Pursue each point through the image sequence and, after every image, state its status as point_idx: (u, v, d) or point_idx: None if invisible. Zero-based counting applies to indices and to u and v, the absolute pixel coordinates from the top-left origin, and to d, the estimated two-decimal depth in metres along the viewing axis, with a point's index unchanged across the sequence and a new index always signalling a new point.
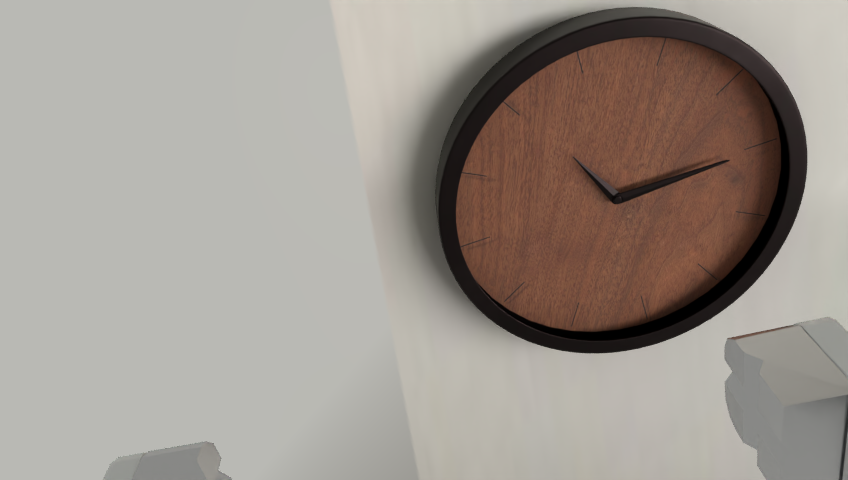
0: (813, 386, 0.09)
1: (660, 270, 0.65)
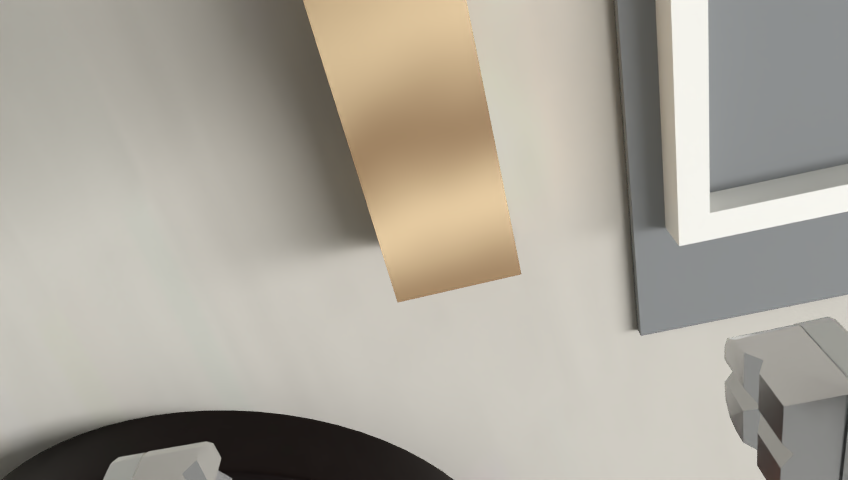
0: (813, 386, 0.09)
1: None
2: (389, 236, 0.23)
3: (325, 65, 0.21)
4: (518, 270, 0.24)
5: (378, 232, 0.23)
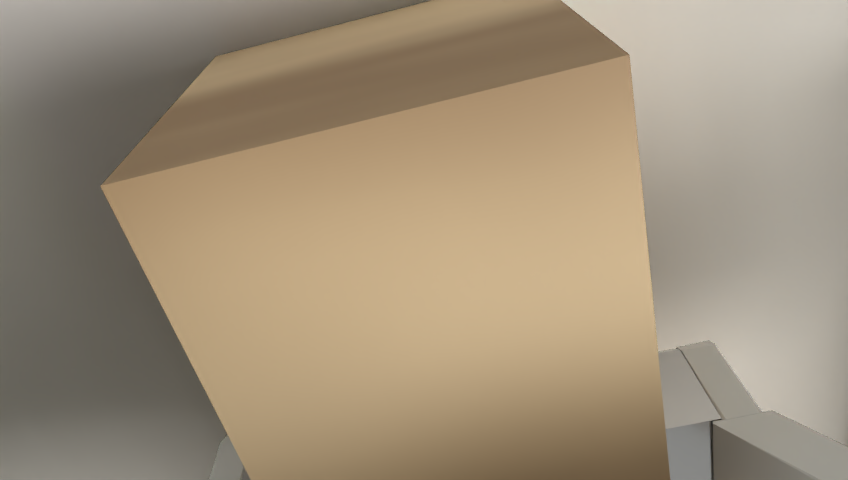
0: (679, 412, 0.09)
1: None
2: None
3: (244, 453, 0.07)
4: None
5: None
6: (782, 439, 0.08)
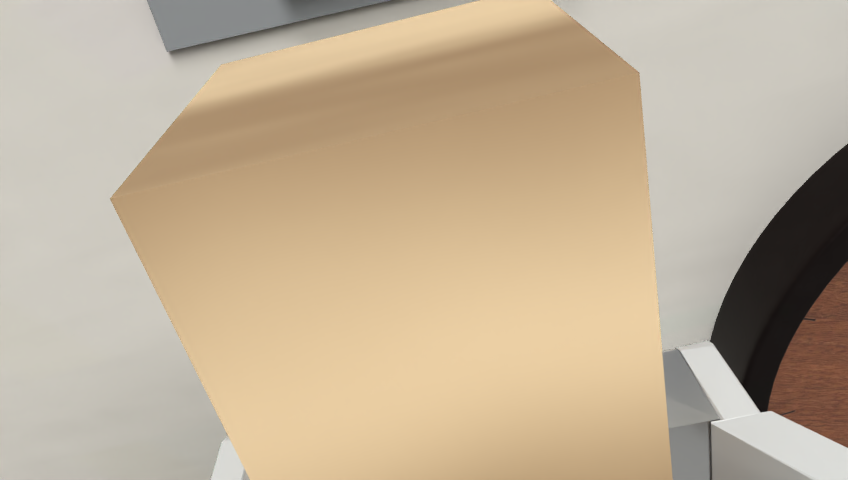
0: (677, 412, 0.09)
1: None
2: None
3: (249, 464, 0.07)
4: None
5: None
6: (781, 439, 0.08)
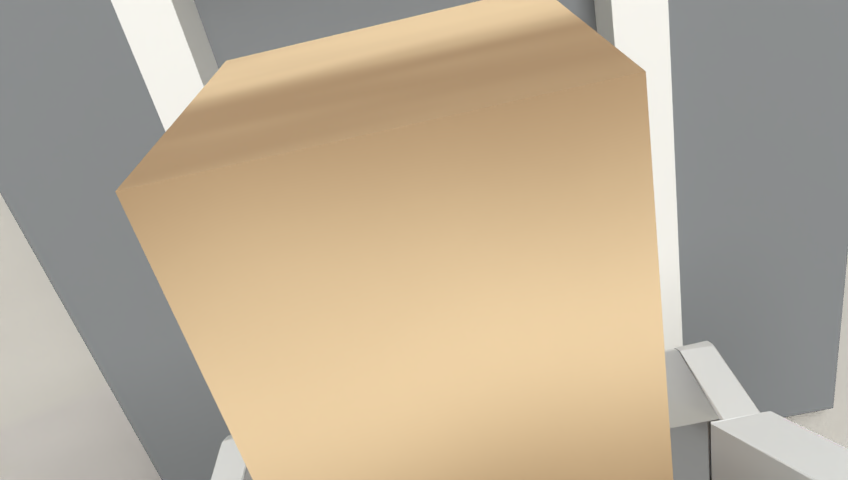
0: (677, 412, 0.09)
1: None
2: None
3: (250, 459, 0.07)
4: None
5: None
6: (781, 439, 0.08)
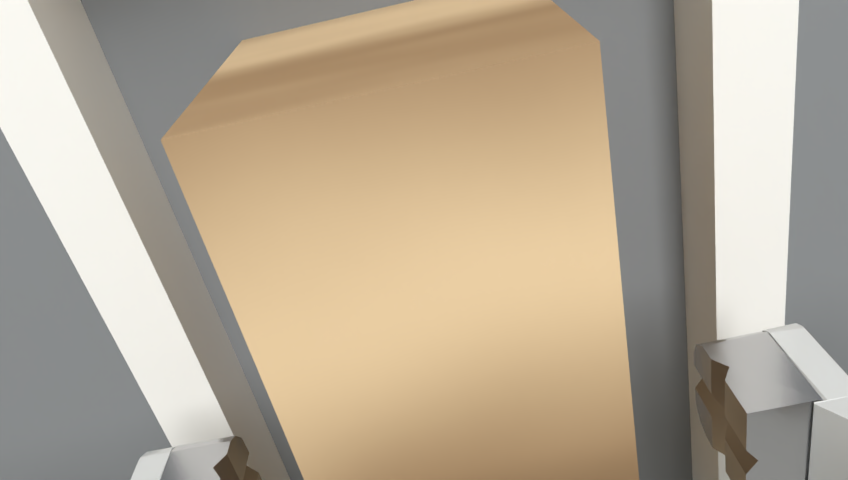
0: (777, 393, 0.09)
1: None
2: None
3: (267, 379, 0.09)
4: None
5: None
6: None
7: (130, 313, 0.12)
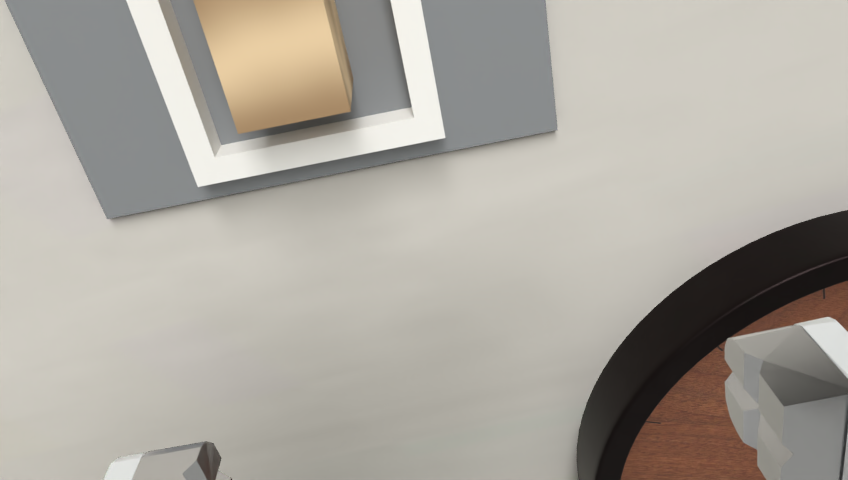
0: (813, 386, 0.09)
1: None
2: (226, 64, 0.26)
3: None
4: (347, 107, 0.27)
5: (216, 60, 0.26)
6: None
7: None
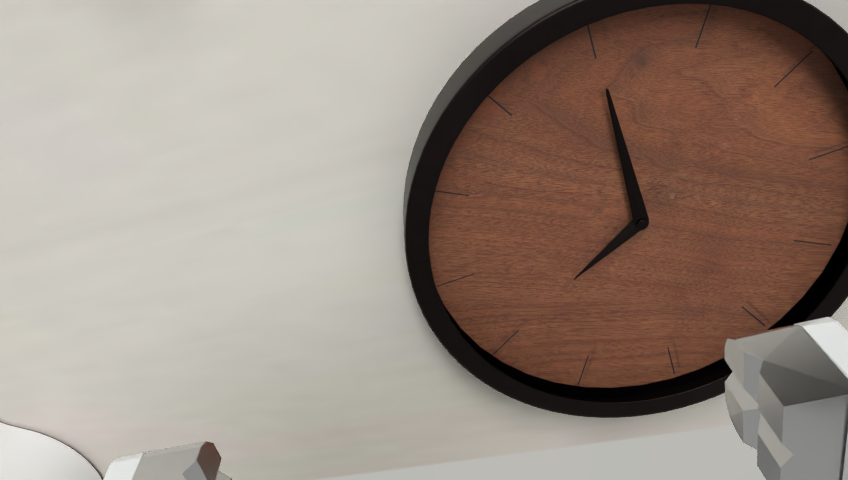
0: (813, 386, 0.09)
1: (771, 139, 0.44)
2: None
3: None
4: None
5: None
6: None
7: None
